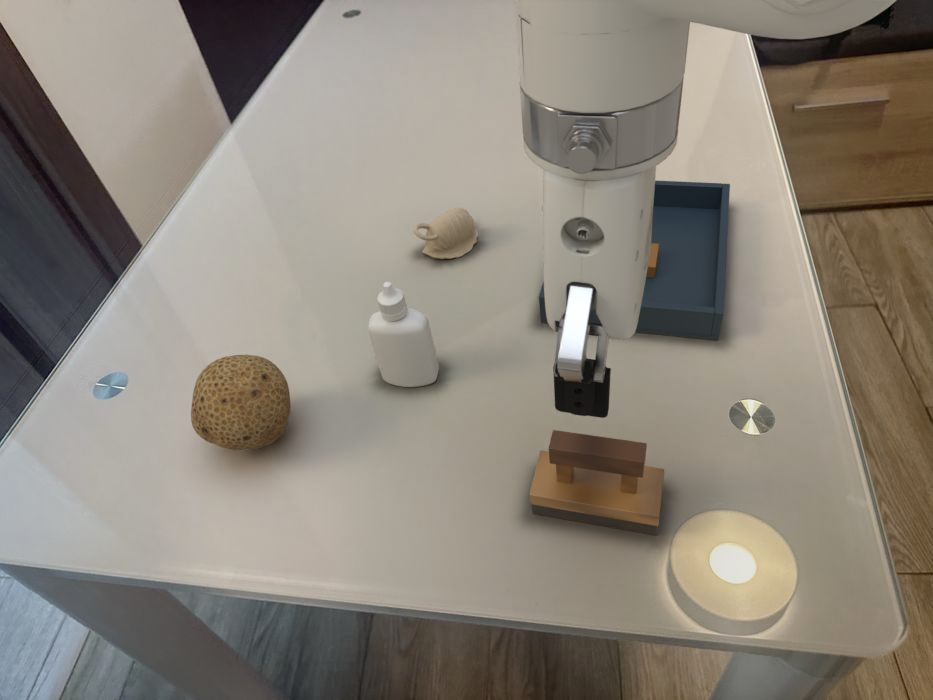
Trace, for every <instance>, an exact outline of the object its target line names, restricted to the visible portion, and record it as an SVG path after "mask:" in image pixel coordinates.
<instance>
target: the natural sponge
mask: <svg viewBox="0 0 933 700" xmlns="http://www.w3.org/2000/svg"><path fill="white" fill-rule="evenodd" d="M194 383H195V384H194V387H193V393H192V399H191V409H190V421H191V422H190V423H191V427H192V428H193V430H194V432H195V433H196V435H198V436H199V437H200V438H201V439H202V440H203V441H206V442H207V443H209V444H213V445H215V446H217V447H220V448H222V449H225V450H226V449H227V450H232V451H239V452H240V451H241V452H242V451H248V450H254V449H255V450H256V449H261V448H265V447H266V446H269V445H271V444H273V443H274V442H275V441H276V440H278V439H279V438H280V437H281V436H282V435H283V433H284V432H285V431H286V428H287V426H288V423H289V418H290V415H291V405H292V404H291V393H290V388H289V384H288V381H287V379H286V377H285V374H284V373H283V372H282V370H281V369H280V368H279V367H278V366H277V365H276V364H275V363H273V361H271V360H269V359H268V358H265V357H263V356H260V355H253V354H235V355H229V356H223V357H220V358H218V359H216V360H213V361H212V362H210V363H209V364H207V366H206V367H205V368H204V369H202V371H201V372H200V373H199V375H198V376H197V378H196V381H195V382H194Z"/></svg>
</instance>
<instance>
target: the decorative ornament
mask: <svg viewBox="0 0 933 700" xmlns="http://www.w3.org/2000/svg"><path fill="white" fill-rule="evenodd" d="M420 229H425V230H426V232H425V234H422V233H420V232H419V230H420ZM413 234H414V235H415V236H416V237H417V238H419V239H420V240H423V241H425V246H424V247H423V249H422V250H421V252H422V254H425V255H426V256H429V257H432V258H433V259H439V260H444V259H447V260H451V259H457V258H461V257H463V256H465V255H466V254H468V253H470V252H471V251H472V249H473V247H474V245H475V244H477V238H478V237H479V232H478V230H477V228H476V225H475V220H474V218H473V216H472V215H471V214H470V212H469V211H468V210H466V209H465V208H463V207H455V208H452V209H449V210H447V211H446V212H444V213H442V214H440V215H438V216H436V218H435V219H433V220H432V221H431V222H430V223H426V222H424V223H423V222H421V223H417V224H416V225H414V227H413Z"/></svg>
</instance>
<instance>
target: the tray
mask: <svg viewBox="0 0 933 700" xmlns="http://www.w3.org/2000/svg"><path fill="white" fill-rule="evenodd" d="M730 190H731V184H730V183H722V182H720V183H719V182H702V181H701V182H699V181H676V180H674V181H673V180H655V191H654V204H653V217H652V237H651V243H654V244H659V253H658V260H657V267H656V274H655V278H651V277H646V281H645V286H644V292H643V297H642V303H641V308H640V314H639V319H638V324H637V328H636V331H635V333H639V334H640V333H641V334H650V335H651V334H652V335H661V336H670V337H681V338H688V339H689V338H690V339H699V340H709V341H711V340H712V341H719V340H720V336H721V331H722V324H723V320H724V314H725V294H726V293H725V292H726V272H727V253H728V252H727V251H728V233H729V232H728V231H729V212H730V193H731V191H730ZM538 304H539V305H538V306H539V307H538V308H539V320H540V323H541V324H548V322H547V317H546V309H545V297H544V280H543V282H542V285H541V289H540V291H539V295H538ZM591 323H597V324H601V322H600V320H599V318H598V316H597V314H596V310H593V311H592V317H591Z"/></svg>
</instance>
